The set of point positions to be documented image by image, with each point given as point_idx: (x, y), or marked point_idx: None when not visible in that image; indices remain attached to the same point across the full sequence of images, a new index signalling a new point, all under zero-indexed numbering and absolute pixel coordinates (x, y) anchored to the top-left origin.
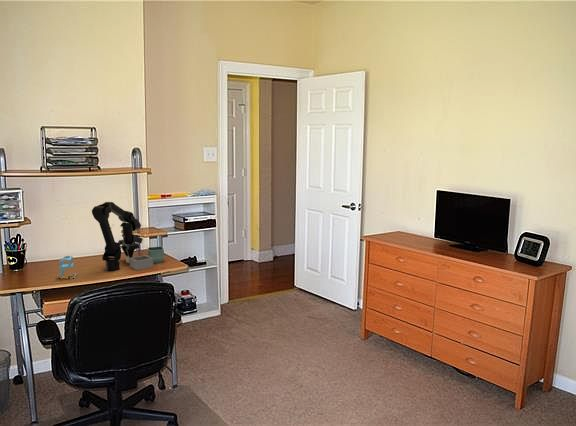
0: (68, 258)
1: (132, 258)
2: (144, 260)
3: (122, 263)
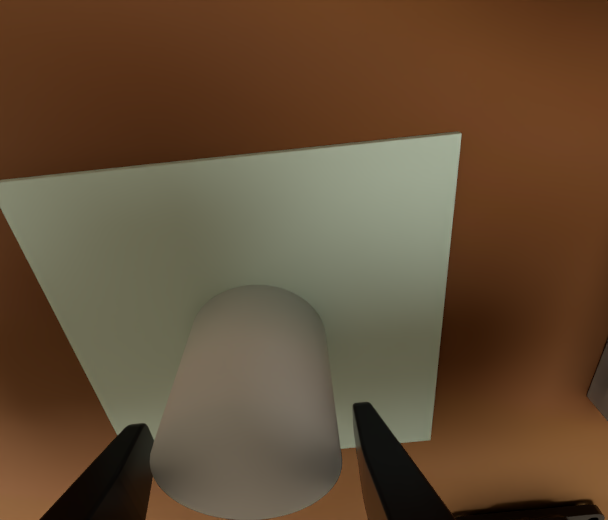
0: None
1: None
2: None
3: None
